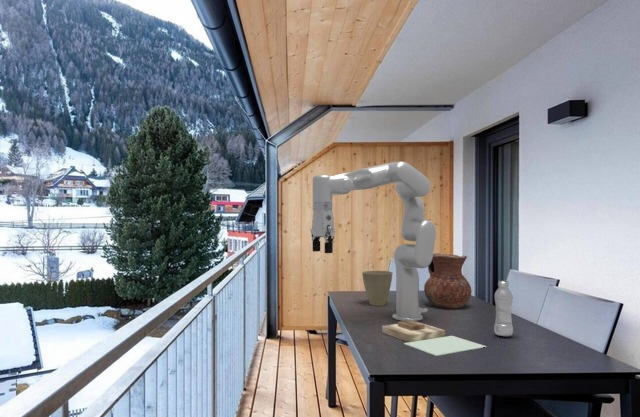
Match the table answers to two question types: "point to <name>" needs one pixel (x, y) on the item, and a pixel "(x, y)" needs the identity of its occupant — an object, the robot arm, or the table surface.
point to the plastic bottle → (503, 310)
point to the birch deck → (413, 333)
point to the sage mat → (444, 345)
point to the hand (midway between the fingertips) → (322, 252)
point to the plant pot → (377, 286)
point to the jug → (447, 282)
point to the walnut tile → (411, 325)
